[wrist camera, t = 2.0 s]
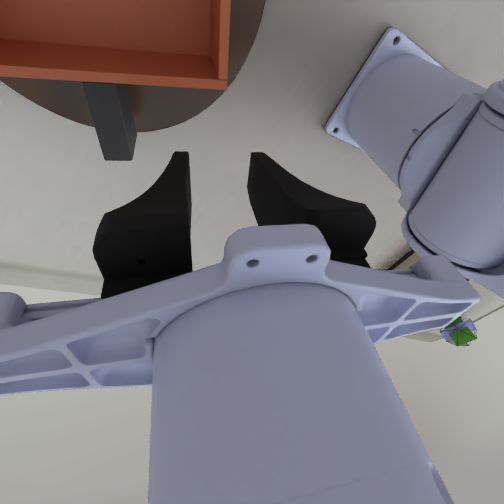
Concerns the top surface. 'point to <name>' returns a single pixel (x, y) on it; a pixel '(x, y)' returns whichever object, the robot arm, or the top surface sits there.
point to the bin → (116, 52)
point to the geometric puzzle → (459, 332)
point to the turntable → (146, 96)
